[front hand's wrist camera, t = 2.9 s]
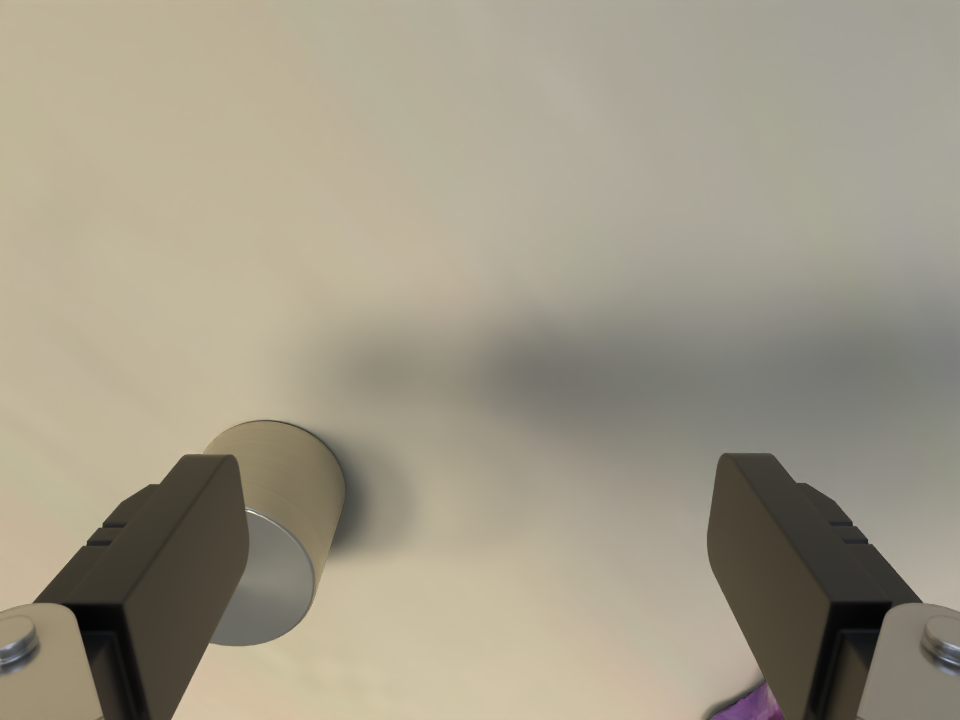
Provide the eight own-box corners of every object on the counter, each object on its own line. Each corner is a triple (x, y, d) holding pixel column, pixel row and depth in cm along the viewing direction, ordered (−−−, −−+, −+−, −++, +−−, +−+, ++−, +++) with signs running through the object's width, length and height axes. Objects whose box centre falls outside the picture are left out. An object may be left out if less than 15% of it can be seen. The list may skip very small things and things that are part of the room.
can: (228, 554, 23) (173, 660, 19) (177, 434, 21) (104, 521, 17) (362, 531, 23) (336, 633, 19) (322, 407, 21) (284, 488, 17)
